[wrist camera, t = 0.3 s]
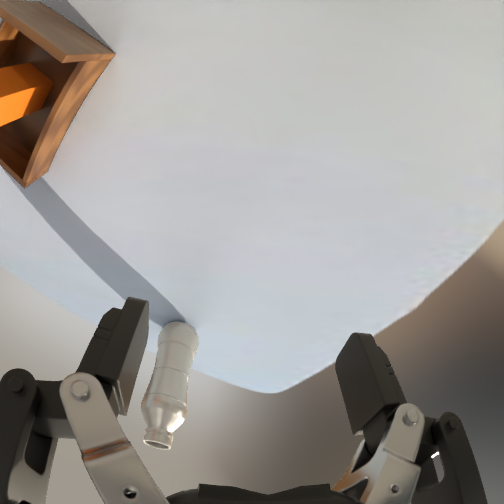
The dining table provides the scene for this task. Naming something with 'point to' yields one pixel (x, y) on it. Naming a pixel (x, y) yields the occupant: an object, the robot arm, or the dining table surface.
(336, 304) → the dining table surface
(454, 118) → the dining table surface
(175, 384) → the plastic bottle
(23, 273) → the dining table surface
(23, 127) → the drawer
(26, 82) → the packet
